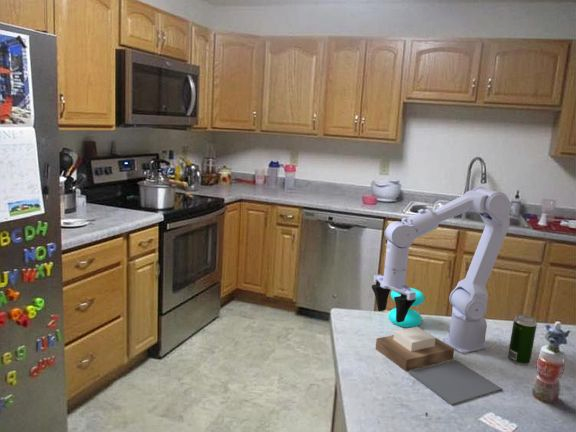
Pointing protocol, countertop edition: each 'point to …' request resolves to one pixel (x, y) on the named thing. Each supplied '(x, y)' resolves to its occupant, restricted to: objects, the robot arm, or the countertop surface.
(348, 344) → the countertop surface
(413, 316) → the donuts
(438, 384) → the mat
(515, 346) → the beer can
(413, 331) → the tile
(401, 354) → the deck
